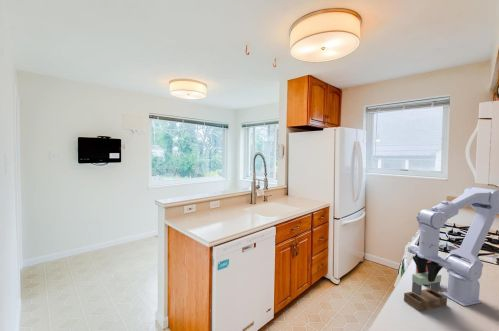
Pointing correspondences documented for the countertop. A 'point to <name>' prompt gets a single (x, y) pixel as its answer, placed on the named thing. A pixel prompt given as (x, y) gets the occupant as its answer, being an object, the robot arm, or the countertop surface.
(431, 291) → the post base
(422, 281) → the green toy bench
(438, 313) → the countertop surface
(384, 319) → the countertop surface
